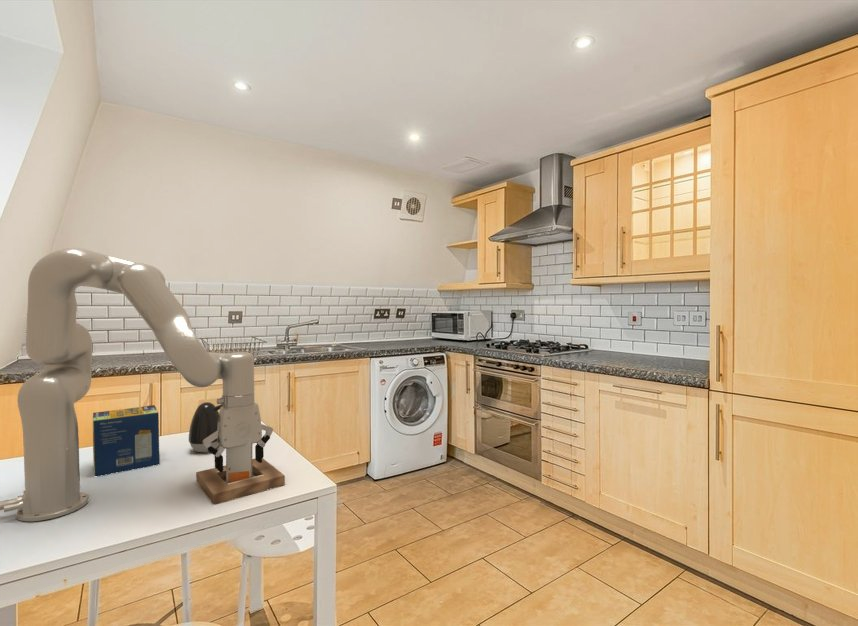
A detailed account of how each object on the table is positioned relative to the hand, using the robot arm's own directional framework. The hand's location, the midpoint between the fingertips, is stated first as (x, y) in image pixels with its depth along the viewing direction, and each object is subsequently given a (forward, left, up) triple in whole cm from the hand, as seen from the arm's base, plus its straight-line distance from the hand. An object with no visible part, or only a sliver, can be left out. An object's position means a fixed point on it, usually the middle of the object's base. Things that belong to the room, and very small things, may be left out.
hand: (239, 465), depth 114 cm
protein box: (-21, +34, -5) cm, 40 cm away
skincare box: (0, 0, -5) cm, 5 cm away
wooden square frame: (0, 0, -5) cm, 5 cm away
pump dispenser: (0, +33, -5) cm, 33 cm away
